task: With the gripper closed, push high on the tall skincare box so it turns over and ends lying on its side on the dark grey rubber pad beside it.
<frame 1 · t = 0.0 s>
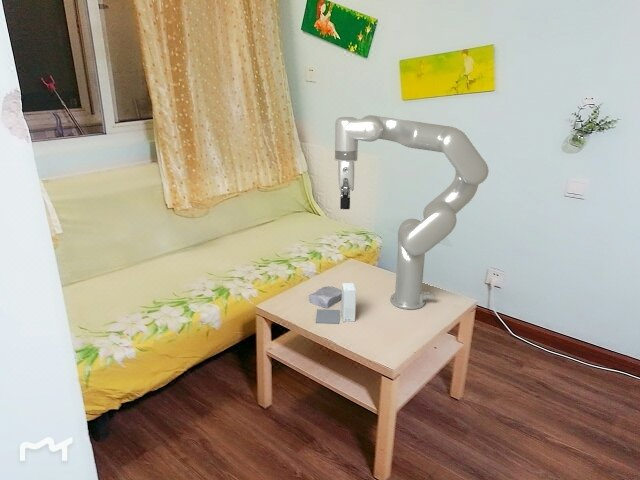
hand: (345, 205, 160), 37 cm above the table, tool pointing down, fingers open, 9 cm apart
stone block: (325, 300, 174), on the table
skincare box: (348, 318, 161), on the table
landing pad: (327, 316, 161), on the table
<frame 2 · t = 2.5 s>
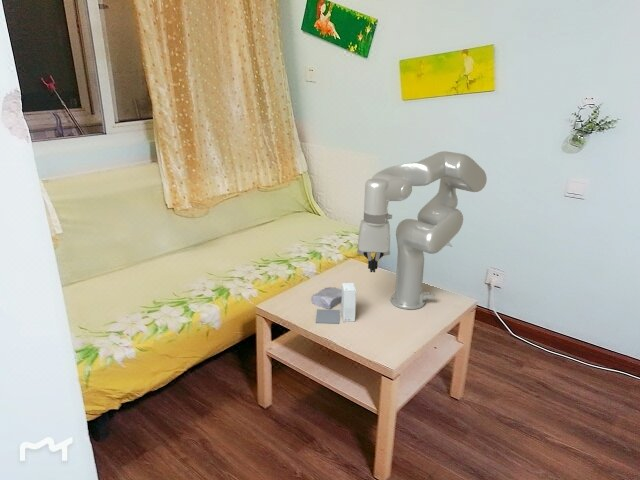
hand: (372, 270, 154), 18 cm above the table, tool pointing down, fingers closed
stone block: (328, 301, 173), on the table
everything else where it was.
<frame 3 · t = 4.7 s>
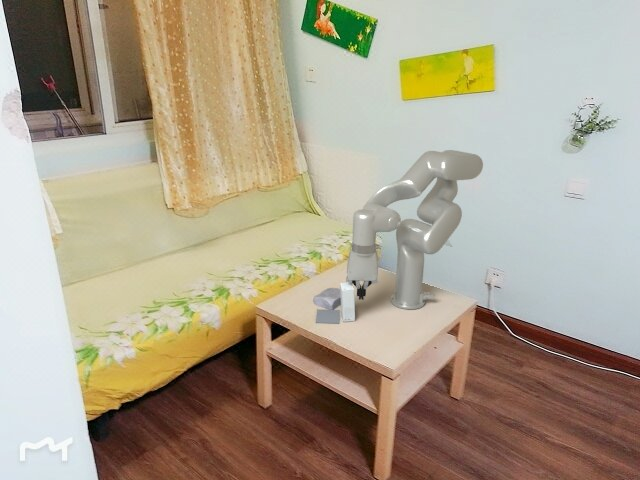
hand: (361, 297, 158), 8 cm above the table, tool pointing down, fingers closed
skincare box: (348, 317, 161), on the table, touching gripper
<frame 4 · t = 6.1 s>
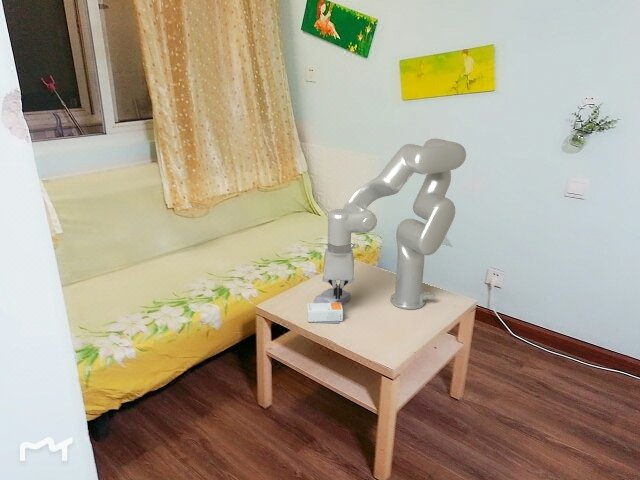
hand: (337, 297, 158), 8 cm above the table, tool pointing down, fingers closed
skincare box: (342, 311, 160), point 3 cm above the table, touching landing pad
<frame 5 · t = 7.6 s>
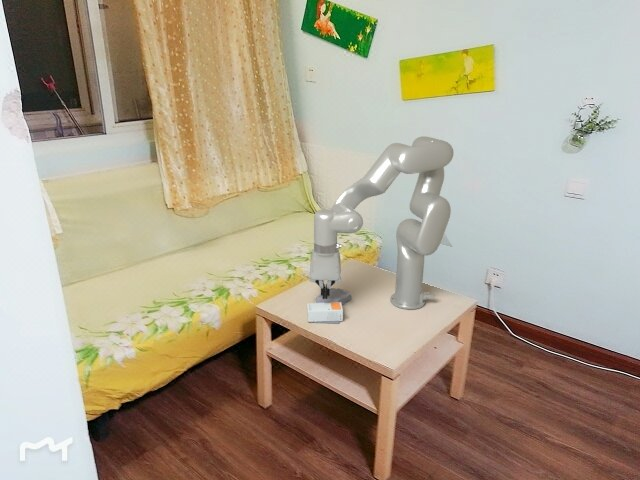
hand: (325, 297, 159), 8 cm above the table, tool pointing down, fingers closed
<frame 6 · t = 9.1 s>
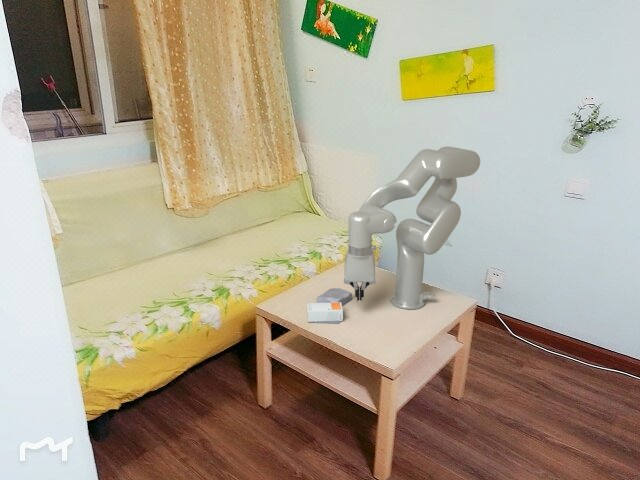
hand: (359, 298, 159), 7 cm above the table, tool pointing down, fingers closed
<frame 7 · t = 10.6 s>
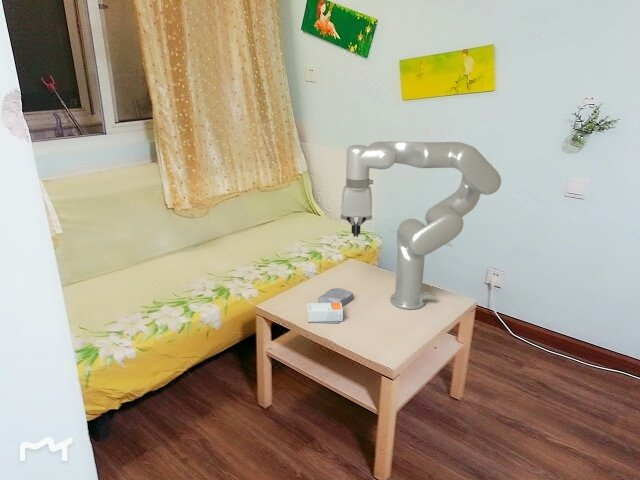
hand: (355, 235, 160), 27 cm above the table, tool pointing down, fingers closed
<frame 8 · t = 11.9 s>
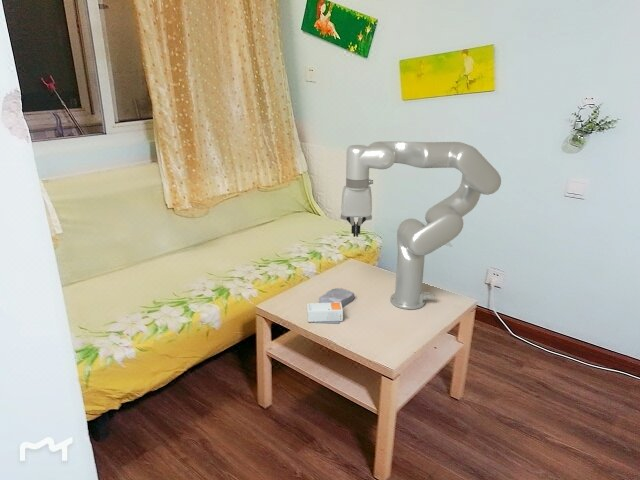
hand: (355, 235, 160), 27 cm above the table, tool pointing down, fingers closed
at the end: skincare box tilted 91°; skincare box inside the target area (1.2 cm from its centre), point 2.6 cm above the table; skincare box touching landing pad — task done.
